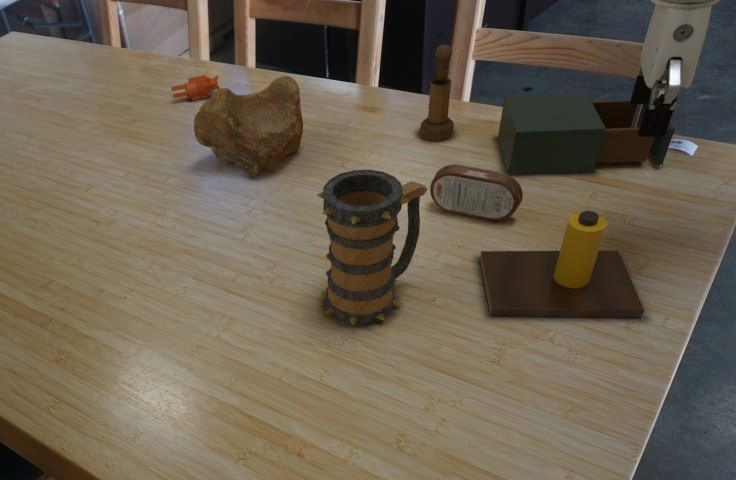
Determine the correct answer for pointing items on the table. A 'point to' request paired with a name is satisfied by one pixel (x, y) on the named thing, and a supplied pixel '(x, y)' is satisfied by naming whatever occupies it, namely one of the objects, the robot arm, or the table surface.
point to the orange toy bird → (197, 87)
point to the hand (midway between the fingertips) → (646, 119)
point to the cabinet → (550, 134)
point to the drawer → (628, 135)
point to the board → (556, 286)
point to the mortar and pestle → (439, 101)
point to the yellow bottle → (579, 249)
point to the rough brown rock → (252, 125)
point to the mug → (366, 242)
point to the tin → (476, 192)
